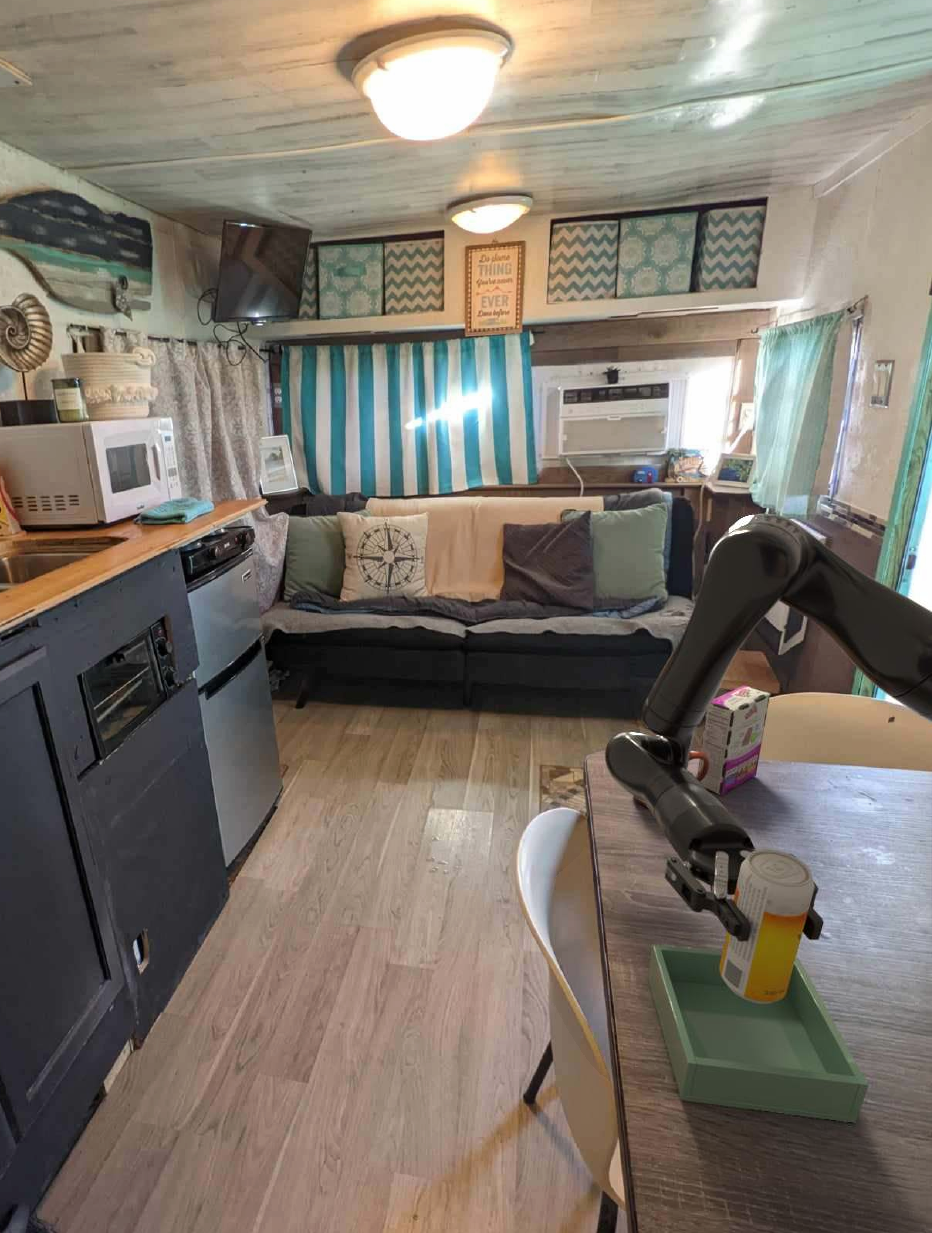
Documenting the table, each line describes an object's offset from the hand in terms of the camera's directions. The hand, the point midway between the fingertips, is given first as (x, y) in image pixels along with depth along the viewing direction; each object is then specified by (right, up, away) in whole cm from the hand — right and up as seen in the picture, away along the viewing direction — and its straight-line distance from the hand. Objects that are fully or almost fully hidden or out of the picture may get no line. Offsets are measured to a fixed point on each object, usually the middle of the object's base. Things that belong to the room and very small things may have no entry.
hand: (781, 933), depth 65 cm
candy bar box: (+26, +5, +57) cm, 63 cm away
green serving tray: (+1, -15, +9) cm, 17 cm away
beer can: (0, -8, +6) cm, 10 cm away
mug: (+13, +2, +52) cm, 53 cm away
